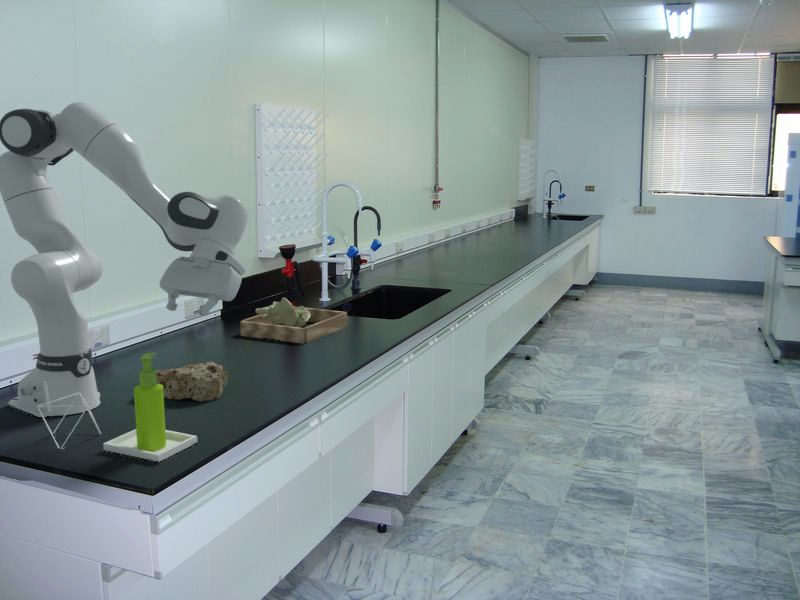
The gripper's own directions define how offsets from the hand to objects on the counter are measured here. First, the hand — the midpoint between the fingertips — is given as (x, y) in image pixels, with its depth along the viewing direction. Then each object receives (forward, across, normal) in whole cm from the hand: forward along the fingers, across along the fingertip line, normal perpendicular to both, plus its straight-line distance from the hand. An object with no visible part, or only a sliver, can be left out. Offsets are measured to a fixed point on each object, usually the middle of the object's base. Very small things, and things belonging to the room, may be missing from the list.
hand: (185, 312), depth 173 cm
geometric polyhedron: (+34, -16, +2) cm, 37 cm away
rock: (+10, -17, +31) cm, 37 cm away
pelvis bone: (-35, -38, +89) cm, 103 cm away
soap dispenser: (+30, +3, +5) cm, 30 cm away
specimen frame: (-35, -34, +88) cm, 101 cm away
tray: (+30, +2, +5) cm, 31 cm away
